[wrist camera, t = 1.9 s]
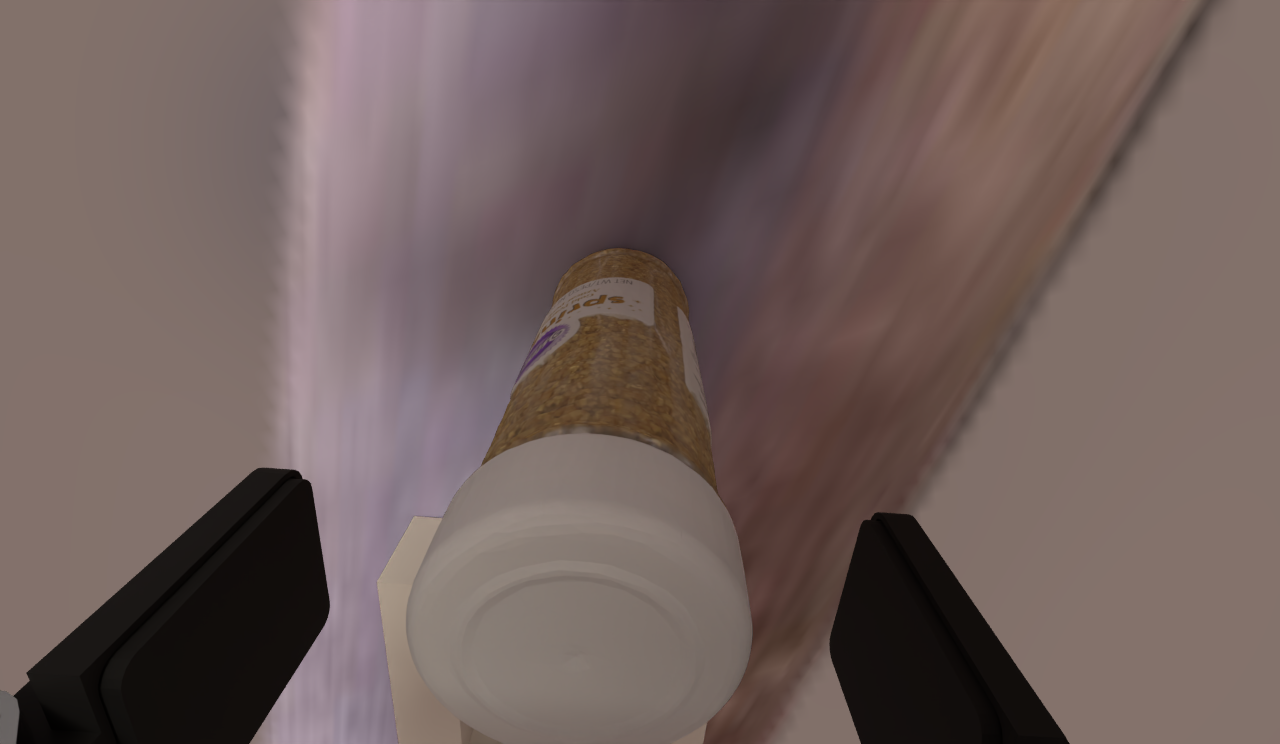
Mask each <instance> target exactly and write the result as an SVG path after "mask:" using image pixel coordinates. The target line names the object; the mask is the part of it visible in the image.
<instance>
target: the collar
mask: <svg viewBox="0 0 1280 744" xmlns="http://www.w3.org/2000/svg"><path fill="white" fill-rule="evenodd" d="M441 520H442V518H432V517H418V516H414V517H413V519H412V521H411V522H410V524H409V526H408V528H407V530H406V531H405V533H404V535H403V537H402V538H401V540H400V542H399V544H398V546H397V547H396V549H395V551H394V553H393V554H392V556H391V558H390V560H389V561H388V563H387V565H386V567H385V569H384V570H383V572H382V574H381V576H380V577H379V579H378V581H377V587H378V594H379V602H380V609H381V617H382V624H383V632H384V639H385V646H386V654H387V661H388V669H389V676H390V684H391V691H392V698H393V706H394V713H395V721H396V728H397V736H398V743H399V744H503V743H501V742H499V741H497V740H494V739H492V738H490V737H488V736H486V735H484V734H482V733H480V732H479V731H477V730H475V729H473V728H472V727H470V726H468V725H467V724H465V723H464V722H463V721H461V720H460V719H458V718H457V717H456V716H454V715H453V714H452V713H451V712H450V711H449V710H448V709H447V708H446V707H444V706H443V705H442V704H441V703H440V702H439V701H438V700H437V698H436V697H435V696H434V695H433V693H432V692H431V691H430V690H429V688H428V687H427V686H426V684H425V682H424V681H423V679H422V678H421V676H420V674H419V673H418V671H417V669H416V667H415V664H414V662H413V659H412V656H411V652H410V649H409V645H408V640H407V634H406V612H407V603H408V598H409V595H410V592H411V588H412V585H413V582H414V579H415V577H416V574H417V572H418V570H419V568H420V566H421V563H422V561H423V559H424V557H425V555H426V552H427V550H428V548H429V546H430V543H431V541H432V539H433V537H434V535H435V532H436V530H437V528H438V526H439V524H440V522H441ZM706 726H707V722H706V723H705V724H704V725H702V726H701V727H700V728H698V729H696V730H695V731H693V732H691V733H690V734H688V735H687V736H685V737H683V738H681V739H679V740H677V741H675V742H672V743H670V744H703V742H704V737H705V731H706Z"/></svg>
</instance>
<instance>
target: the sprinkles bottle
mask: <svg viewBox="0 0 1280 744" xmlns="http://www.w3.org/2000/svg"><path fill="white" fill-rule="evenodd" d="M688 315H689V307H688V301H687V298H686V296H685V293H684V291H683V288H682V285H681V282H680V281H679V279H678V278H677V277H676V276H675V275H674V273H673V272H672V271H671V270H670V269H669V268H668V266H667V265H666V264H665V263H664V262H662V261H661V260H660V259H658V258H656V257H654V256H652V255H650V254H647V253H645V252H642V251H638V250H631V249H623V248H614V249H605V250H602V251H598V252H595V253H593V254H590V255H589V256H587V257H586V258H583V259H581V260H580V261H579V262H577V263H575V264H574V265H572V266H571V268H570V269H569V270H568V271H567V272H566V273H565V274H564V275H563V277H562V278H561V280H560V282H559V284H558V286H557V289H556V291H555V294H554V298H553V304H552V308H551V310H550V311H549V313H548V314H547V316H546V317H545V319H544V321H543V323H542V325H541V327H540V329H539V332H538V334H537V336H536V338H535V340H534V342H533V345H532V347H531V349H530V351H529V354H528V356H527V358H526V360H525V362H524V365H523V367H522V369H521V371H520V374H519V376H518V378H517V380H516V383H515V385H514V387H513V389H512V392H511V398H510V399H511V400H510V402H509V404H508V406H507V409H506V411H505V414H504V416H503V418H502V421H501V423H500V425H499V426H498V429H497V431H496V434H495V437H494V439H493V442H492V444H491V446H490V448H489V450H488V452H487V454H486V456H485V458H484V460H483V462H482V465H481V467H480V468H479V469H478V470H476V471H475V472H474V473H473V474H472V475H471V476H470V477H469V478H468V479H467V480H466V481H465V483H464V484H463V485H462V486H461V488H460V489H459V490H458V491H457V493H456V494H455V496H454V497H453V499H452V501H451V503H450V505H449V507H448V509H447V511H446V512H445V514H444V516H443V518H442V520H441V522H440V524H439V526H438V528H437V530H436V532H435V535H434V537H433V539H432V541H431V543H430V546H429V548H428V550H427V552H426V555H425V557H424V559H423V561H422V563H421V566H420V568H419V570H418V572H417V574H416V577H415V579H414V582H413V585H412V588H411V592H410V595H409V598H408V603H407V612H406V634H407V640H408V645H409V649H410V652H411V656H412V659H413V662H414V664H415V667H416V669H417V671H418V673H419V674H420V676H421V678H422V679H423V681H424V682H425V684H426V686H427V687H428V688H429V690H430V691H431V692H432V693H433V695H434V696H435V697H436V698H437V700H438V701H439V702H440V703H441V704H442V705H443V706H444V707H446V708H447V709H448V710H449V711H450V712H451V713H452V714H453V715H454V716H456V717H457V718H458V719H460V720H461V721H463V722H464V723H465V724H467V725H468V726H470V727H472V728H473V729H475V730H477V731H479V732H480V733H482V734H484V735H486V736H488V737H490V738H492V739H494V740H497V741H499V742H501V743H503V744H670V743H672V742H675V741H677V740H679V739H681V738H683V737H685V736H687V735H688V734H690V733H691V732H693V731H695V730H696V729H698V728H700V727H701V726H702V725H704V724H705V723H706V722H708V721H709V720H710V719H711V718H713V717H714V716H715V715H716V714H717V713H718V712H719V711H720V710H721V709H722V707H723V706H724V705H725V704H726V703H727V702H728V701H729V699H730V698H731V696H732V695H733V693H734V692H735V690H736V689H737V687H738V686H739V684H740V682H741V680H742V678H743V675H744V673H745V671H746V668H747V664H748V661H749V657H750V652H751V646H752V637H753V628H752V618H751V611H750V604H749V597H748V591H747V585H746V579H745V572H744V566H743V561H742V556H741V550H740V545H739V540H738V535H737V533H736V530H735V527H734V524H733V521H732V518H731V516H730V514H729V512H728V510H727V509H726V506H725V504H724V503H723V501H722V500H721V498H720V496H719V495H718V492H717V485H716V479H715V470H714V464H713V460H712V452H711V428H710V422H709V416H708V410H707V404H706V399H705V395H704V390H703V384H702V379H701V374H700V369H699V364H698V359H697V354H696V349H695V343H694V338H693V334H692V331H691V327H690V324H689V317H688Z"/></svg>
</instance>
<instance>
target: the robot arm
mask: <svg viewBox="0 0 1280 744" xmlns="http://www.w3.org/2000/svg"><path fill="white" fill-rule="evenodd" d="M329 609H330V601H329V594H328V588H327V581H326V575H325V568H324V562H323V555H322V549H321V543H320V536H319V530H318V523H317V517H316V510H315V504H314V497H313V491H312V486H311V483H310V482H309V481H308V480H305V479H302V476H301V474H300V473H299V472H298V471H296V470H289V469H275V468H258V469H256V470H254V471H253V472H252V473H251V474H249V475H248V476H247V477H246V478H245V479H244V480H243V481H242V482H241V483H239V484H238V485H237V486H236V487H235V488H234V489H233V490H232V491H231V492H229V493H228V494H227V495H226V496H225V497H224V498H222V499H221V500H220V501H219V502H218V503H217V504H216V505H215V506H214V507H212V508H211V509H210V510H209V511H208V512H207V513H206V514H205V515H203V516H202V517H201V518H200V519H199V520H198V521H197V522H196V523H194V524H193V525H192V526H191V527H190V528H189V529H188V530H187V531H185V532H184V533H183V534H182V535H181V536H180V537H179V538H178V539H177V540H175V541H174V542H173V543H172V544H171V545H170V546H169V547H167V548H166V549H165V550H164V551H163V552H162V553H161V554H160V555H158V556H157V557H156V558H155V559H154V560H153V561H152V562H151V563H149V564H148V565H147V566H146V567H145V568H144V569H143V570H142V571H141V572H139V573H138V574H137V575H136V576H135V577H134V578H133V579H131V580H130V581H129V582H128V583H127V584H126V585H125V586H124V587H122V588H121V589H120V590H119V591H118V592H117V593H116V594H115V595H113V596H112V597H111V598H110V599H109V600H108V601H107V602H106V603H105V604H103V605H102V606H101V607H100V608H99V609H98V610H97V611H95V612H94V613H93V614H92V615H91V616H90V617H89V618H88V619H86V620H85V621H84V622H83V623H82V624H81V625H80V626H79V627H78V628H76V629H75V630H74V631H73V632H72V633H71V634H70V635H68V636H67V637H66V638H65V639H64V640H63V641H62V642H61V643H60V644H58V645H57V646H56V647H55V648H54V649H53V650H52V651H50V652H49V653H48V654H47V655H46V656H45V657H44V658H43V659H41V660H40V661H39V662H38V663H37V664H36V665H35V666H34V667H33V668H31V669H30V670H29V671H28V672H27V675H28V678H29V680H30V681H29V682H28V683H27V684H26V685H25V686H24V687H23V688H21V690H19V691H18V692H17V693H16V694H15V695H14V696H12V695H10V694H9V693H8V692H6V691H1V690H0V744H249V743H250V742H251V740H252V739H253V737H254V735H255V734H256V732H257V731H258V729H259V728H260V726H261V724H262V723H263V721H264V720H265V718H266V717H267V715H268V713H269V712H270V710H271V709H272V707H273V706H274V704H275V702H276V701H277V699H278V698H279V696H280V695H281V693H282V691H283V690H284V688H285V687H286V685H287V684H288V682H289V680H290V679H291V677H292V676H293V674H294V673H295V671H296V669H297V668H298V666H299V665H300V663H301V662H302V660H303V658H304V657H305V655H306V654H307V652H308V651H309V649H310V647H311V646H312V644H313V643H314V641H315V640H316V638H317V636H318V635H319V633H320V632H321V630H322V629H323V627H324V625H325V623H326V621H327V618H328V614H329ZM830 655H831V659H832V662H833V665H834V668H835V671H836V673H837V676H838V679H839V682H840V685H841V688H842V691H843V693H844V696H845V699H846V702H847V705H848V707H849V711H850V713H851V716H852V719H853V722H854V725H855V727H856V731H857V733H858V736H859V739H860V742H861V744H1069V742H1068V741H1067V739H1066V737H1065V735H1064V734H1063V732H1062V731H1061V729H1060V728H1059V727H1058V725H1057V724H1056V722H1055V721H1054V719H1053V718H1052V716H1051V715H1050V713H1049V712H1048V711H1047V709H1046V708H1045V706H1044V705H1043V703H1042V702H1041V700H1040V699H1039V697H1038V696H1037V695H1036V693H1035V692H1034V690H1033V689H1032V687H1031V686H1030V684H1029V683H1028V682H1027V680H1026V679H1025V677H1024V676H1023V674H1022V673H1021V671H1020V670H1019V669H1018V667H1017V666H1016V664H1015V663H1014V661H1013V660H1012V658H1011V657H1010V655H1009V654H1008V652H1007V651H1006V650H1005V648H1004V647H1003V645H1002V644H1001V642H1000V641H999V639H998V638H997V636H996V635H995V634H994V632H993V631H992V629H991V628H990V626H989V625H988V624H987V622H986V621H985V619H984V618H983V616H982V615H981V613H980V612H979V610H978V609H977V607H976V606H975V605H974V603H973V602H972V600H971V599H970V597H969V596H968V595H967V593H966V591H965V590H964V589H963V587H962V586H961V584H960V583H959V582H958V580H957V578H956V577H955V575H954V574H953V573H952V571H951V570H950V568H949V567H948V565H947V564H946V563H945V561H944V560H943V558H942V557H941V555H940V554H939V552H938V551H937V550H936V548H935V546H934V545H933V544H932V542H931V541H930V539H929V538H928V536H927V535H926V534H925V532H924V531H923V529H922V528H921V526H920V525H919V523H918V522H917V520H916V519H915V518H914V517H913V516H911V515H909V514H895V513H881V512H877V513H875V514H874V515H873V516H872V518H871V520H865V521H863V522H862V524H861V527H860V530H859V533H858V537H857V541H856V544H855V548H854V552H853V555H852V559H851V563H850V566H849V570H848V573H847V577H846V581H845V584H844V588H843V592H842V595H841V599H840V603H839V606H838V610H837V613H836V617H835V621H834V624H833V628H832V632H831V636H830Z"/></svg>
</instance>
